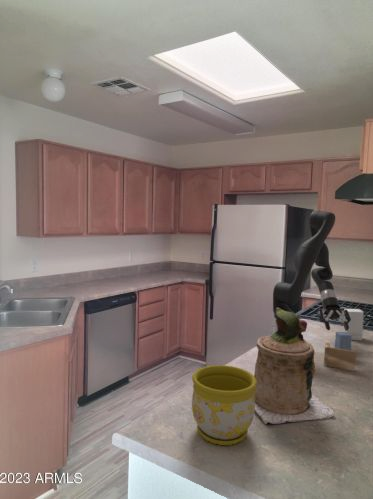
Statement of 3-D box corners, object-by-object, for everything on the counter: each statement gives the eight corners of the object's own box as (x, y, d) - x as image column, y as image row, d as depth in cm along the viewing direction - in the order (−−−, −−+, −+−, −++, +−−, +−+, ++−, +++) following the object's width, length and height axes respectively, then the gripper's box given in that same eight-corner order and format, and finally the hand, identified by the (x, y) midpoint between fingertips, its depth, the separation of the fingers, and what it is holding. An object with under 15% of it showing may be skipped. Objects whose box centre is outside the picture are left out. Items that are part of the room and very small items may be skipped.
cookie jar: (265, 427, 108) (271, 321, 106) (233, 390, 132) (237, 302, 129) (337, 418, 115) (343, 318, 112) (294, 383, 138) (298, 300, 136)
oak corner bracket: (325, 357, 167) (326, 340, 166) (354, 362, 162) (355, 344, 162) (323, 365, 157) (324, 347, 156) (354, 371, 152) (355, 352, 151)
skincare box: (358, 337, 198) (360, 308, 197) (362, 341, 192) (364, 311, 191) (342, 336, 199) (343, 308, 198) (346, 340, 193) (348, 311, 191)
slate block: (339, 359, 165) (340, 335, 164) (334, 354, 170) (335, 331, 169) (350, 359, 165) (351, 335, 164) (345, 355, 170) (346, 332, 169)
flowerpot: (177, 431, 105) (179, 375, 104) (218, 409, 118) (220, 360, 116) (226, 462, 92) (229, 399, 91) (266, 434, 105) (269, 378, 103)
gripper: (317, 296, 180) (325, 325, 170) (346, 296, 181) (356, 326, 170) (313, 304, 186) (320, 333, 176) (340, 304, 187) (349, 333, 176)
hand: (338, 329), depth 173 cm, fingers open, 8 cm apart
